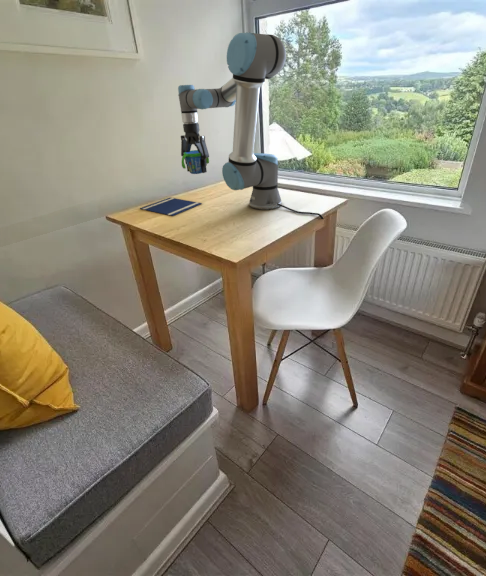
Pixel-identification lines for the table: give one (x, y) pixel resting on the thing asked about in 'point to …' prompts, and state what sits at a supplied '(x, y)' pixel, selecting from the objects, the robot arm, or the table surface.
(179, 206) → the towel
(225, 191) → the table surface
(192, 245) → the table surface
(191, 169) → the snack cup
